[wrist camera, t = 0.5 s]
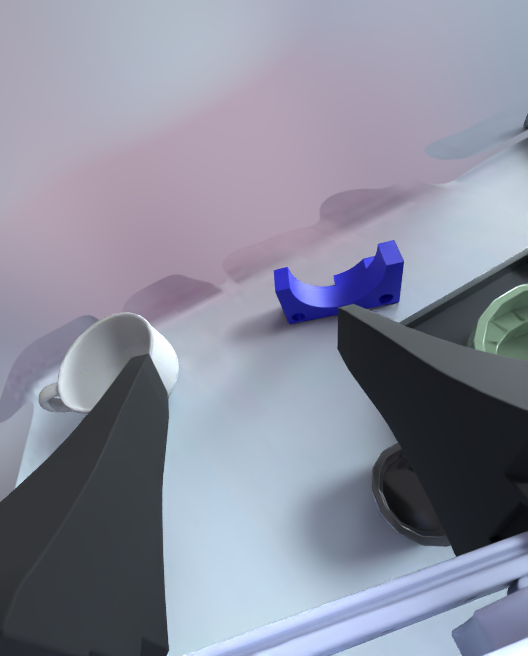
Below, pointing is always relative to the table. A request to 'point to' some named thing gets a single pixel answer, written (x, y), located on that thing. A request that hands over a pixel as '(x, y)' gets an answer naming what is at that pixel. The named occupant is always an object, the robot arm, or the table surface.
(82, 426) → the robot arm
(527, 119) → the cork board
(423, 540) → the black cup
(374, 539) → the table surface
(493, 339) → the sage bowl
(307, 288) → the blue curved stand
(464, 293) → the tray
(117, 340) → the teacup
